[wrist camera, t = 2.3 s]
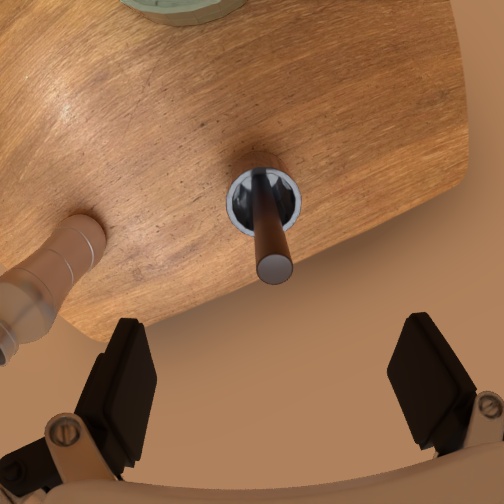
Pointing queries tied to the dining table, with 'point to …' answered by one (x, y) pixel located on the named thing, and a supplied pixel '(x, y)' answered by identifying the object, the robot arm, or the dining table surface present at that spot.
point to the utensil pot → (242, 196)
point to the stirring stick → (269, 235)
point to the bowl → (183, 10)
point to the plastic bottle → (46, 282)
